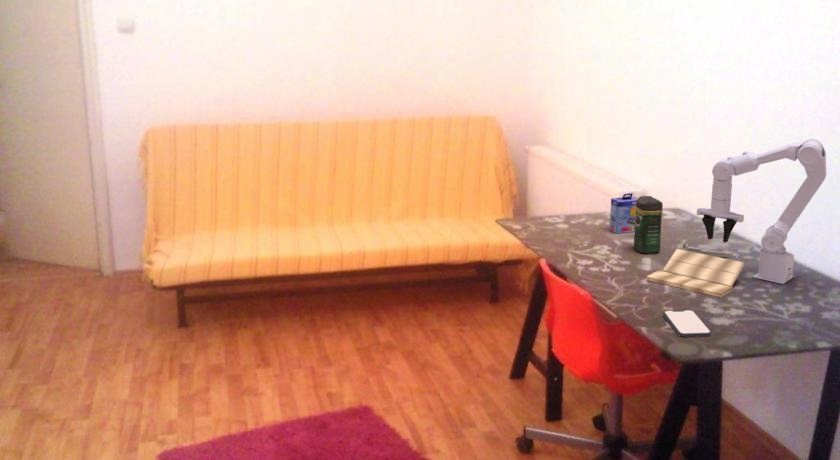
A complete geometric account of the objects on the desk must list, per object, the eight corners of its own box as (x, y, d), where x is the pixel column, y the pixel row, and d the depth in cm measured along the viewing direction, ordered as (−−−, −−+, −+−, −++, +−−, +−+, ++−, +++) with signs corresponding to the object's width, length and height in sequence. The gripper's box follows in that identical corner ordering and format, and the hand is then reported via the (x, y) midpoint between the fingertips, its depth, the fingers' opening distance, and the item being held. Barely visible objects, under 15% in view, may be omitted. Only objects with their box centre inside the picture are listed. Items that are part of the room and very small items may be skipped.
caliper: (680, 262, 291) (681, 244, 289) (678, 261, 292) (679, 243, 290) (736, 257, 295) (737, 239, 294) (734, 256, 296) (735, 238, 295)
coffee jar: (663, 253, 300) (666, 200, 294) (640, 255, 299) (643, 201, 294) (652, 245, 309) (655, 193, 304) (630, 246, 308) (633, 194, 303)
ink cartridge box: (616, 234, 323) (617, 195, 319) (608, 230, 328) (610, 192, 324) (640, 231, 326) (642, 193, 322) (632, 227, 331) (634, 189, 327)
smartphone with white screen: (712, 338, 232) (692, 314, 247) (713, 333, 232) (693, 309, 247) (679, 339, 232) (661, 315, 247) (679, 334, 231) (661, 310, 247)
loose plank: (744, 265, 271) (743, 262, 270) (730, 288, 266) (730, 285, 265) (677, 251, 285) (676, 248, 284) (663, 272, 280) (662, 270, 280)
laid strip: (732, 290, 265) (732, 286, 264) (720, 297, 259) (721, 293, 259) (659, 273, 280) (659, 269, 280) (646, 280, 275) (646, 276, 274)
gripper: (749, 199, 274) (745, 241, 278) (704, 192, 284) (701, 233, 287) (739, 203, 269) (736, 246, 273) (694, 196, 279) (691, 238, 282)
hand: (717, 240), depth 280 cm, fingers open, 4 cm apart
